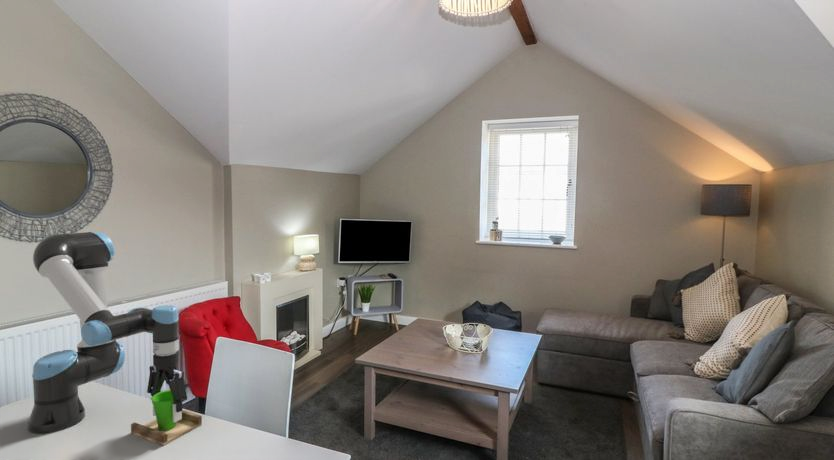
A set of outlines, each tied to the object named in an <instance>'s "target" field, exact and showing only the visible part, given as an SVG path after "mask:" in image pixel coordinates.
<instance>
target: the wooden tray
mask: <svg viewBox="0 0 834 460" xmlns="http://www.w3.org/2000/svg"><path fill="white" fill-rule="evenodd" d="M202 418H203V416H202V415H200V414H196V413H192V412H190V411H186V410H184V409H182V419H181V420H179V421H177V422H176V425H175V427H174V428H172V429H170V430H166V431H161V430H159V428H158V424H157V419H156V418H155V419H153V420H151V421H148V422H147V423H145V424H140V423H138V422H135V421H134V422H132V423H131V424H130V434H133V435H135V436H137V437H140V438H143V439H145V440H148V441H151V442H153V443H155V444H159V445H161V446H166V445H169V444H170V443H171V442H173V441H175V440H177V439H179V438H181V437H182V436H184V435H186V434H188V433H190V432H191V431H193V430H195V429H197V428H199V427H201V426H202V424H203V422H202V420H203V419H202Z"/></svg>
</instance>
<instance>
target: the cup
mask: <svg viewBox="0 0 834 460" xmlns="http://www.w3.org/2000/svg"><path fill="white" fill-rule="evenodd" d="M177 399H178V398H177ZM150 400H151V401H153V404H154V409H155V414H156V416H155V419H157V424H158V428H159V430H161V431H166V430H170V429H172V428H174V427H175V425H176V422H175V423H174V422H173V403H174V399H173V396H172V393H171V390H170V389H167V390H163V391H162V390H161V392H159V393H157V394H155V395H153V396H151V398H150ZM153 404H152V405H153Z"/></svg>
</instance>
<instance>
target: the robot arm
mask: <svg viewBox="0 0 834 460" xmlns="http://www.w3.org/2000/svg"><path fill="white" fill-rule="evenodd" d="M114 256H115V247H114V242H113V241H112V240H111V238H110V237H109V236H108V235H107V234H105V233H104V232H101V231H100V232H99V231H94V232H93V231H87V232H86V231H85V232H74V233H73V232H71V233H55V234H52V235H49V236H47V237H45V238H43V239H41V241H39V243H38V244H37V246H36V247H35V248H34V251H33V256H32V260H33V265H34V268H35V269H36V271H37V272H38V274H39V275H40V276H42V277H43V278H47V279H48V280H49V281H50V282H51V284H52V285H53V287H54V288H55V289H56V290H57V292H58V293H59V295H60V296H61V297H62V298H63V300H64V301H65V302H66V303H67V305H68V306H69V307H70V309H71V310H72V312H74V315H76V316H77V318H78V319H79V326H80V336H81V340H80V342H79V343H77V344H76V348H77V349H76V350H77V351H75V350H73V349H64V350H60V351H53V352H51V353H48V354H46V355H44V356H42V357H40V358H38V359H37V360H36V361H35V363H34V364H33V367H32V375H31V376H32V380H33V381H32V383H33V401H34V403H33V407H32V410H31V412H30V416H29V418H28V421H27V429H28V431H29V432H31V433H34V434H46V433H53V432H59V431H62V430H64V429H65V430H66V429H68V428H70V427H72V426H75V425H77V424H78V423H80V422H81V421H83V419H84V418H85V417H86V409H85V407H84V405H83V402H82V401H81V398H80V396H79V389H78V388H79V386H82V385H85V384H87V383H90V382H93V381H96V380H100V379H102V378H107V377H109V376H111V375H113V374H116V373H117V372H119V371H120V370H121V369H122V367H123V366H124V363H125V361H126V360H125V359H126V351H125V348H124V347H123V346H124V345H123V344H122V343H121V342H119V341H117V340H120V339H123V338H126V337H127V338H128V337H132V336H134V335H138V334H141V333H149V334H152V353H153V355H152V364H153V365H150V366H149V376H148V382H147V383H148V384H147V388H146V389H147V390H146V392H147V394H150V396H151V397H152V396H153V395H155V394H157V393H159V392H162V387H163V385H164V382H165V383H166V385H168V387H169V390H171V393H172V396H173V399H174V403H173V422H174V423H175V422H177V421H179V420H181V419H182V410H183V402H185V401H186V400H188V396H187V388H186V384H185V379H184V378H185V377H184V376H185V371H184V370H178V369H177V365H178V363H179V362H180V352H179V350H180V342H179V341H180V340H179V339H180V338H179V333H180V332H179V320H180V319H179V310H178V306H175V305H172V304H171V305H170V304H169V305H168V304H166V305H165V304H164V305H158V306H155V307H154V308H152V309H150V308H148V307H146V308H145V307H134V308H132V309H131V310H129V311H128V312H126V313H123V314H117V315H114V314H112V312H111V311H110V310H109V308H108V300H107V288H106V279H105V271H106V270H107V269H108V268H109V262H111V261H112V260H113V259H114ZM177 398H178V399H177ZM151 401H152V400H151ZM151 403H152V416H154V417H156V414H155V409H154V404H153V401H152V402H151Z"/></svg>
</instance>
